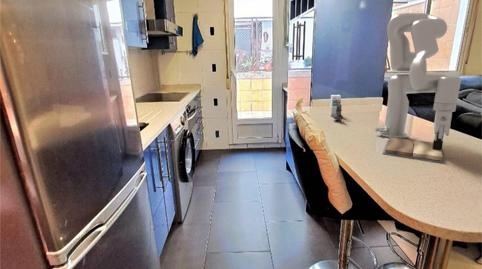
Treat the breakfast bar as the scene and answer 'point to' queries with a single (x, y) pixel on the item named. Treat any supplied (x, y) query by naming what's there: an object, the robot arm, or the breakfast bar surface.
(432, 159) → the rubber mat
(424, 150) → the ash plank
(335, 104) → the syrup box
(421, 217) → the breakfast bar surface
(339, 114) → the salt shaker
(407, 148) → the walnut board
